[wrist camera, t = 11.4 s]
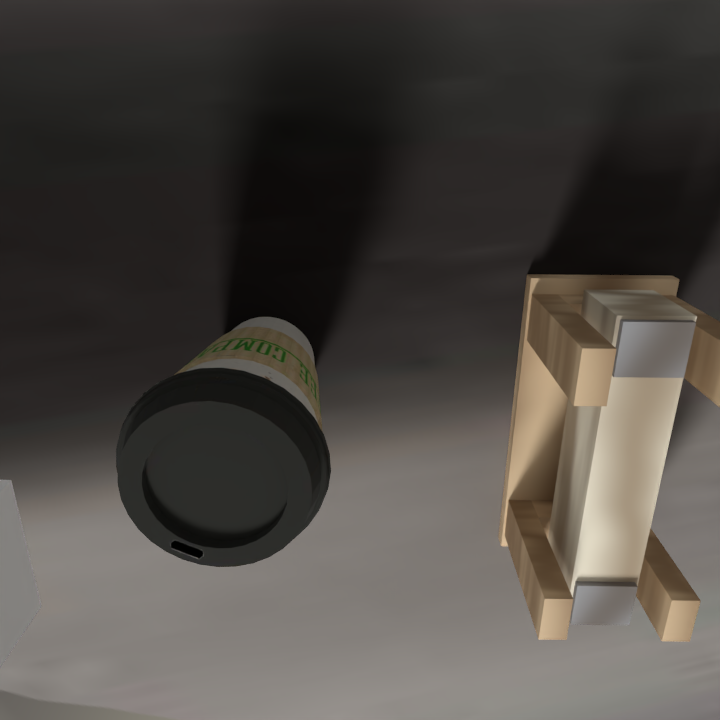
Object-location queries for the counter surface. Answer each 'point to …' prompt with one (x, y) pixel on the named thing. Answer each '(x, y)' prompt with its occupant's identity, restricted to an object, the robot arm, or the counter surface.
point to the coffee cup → (228, 449)
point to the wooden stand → (545, 431)
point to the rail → (618, 453)
